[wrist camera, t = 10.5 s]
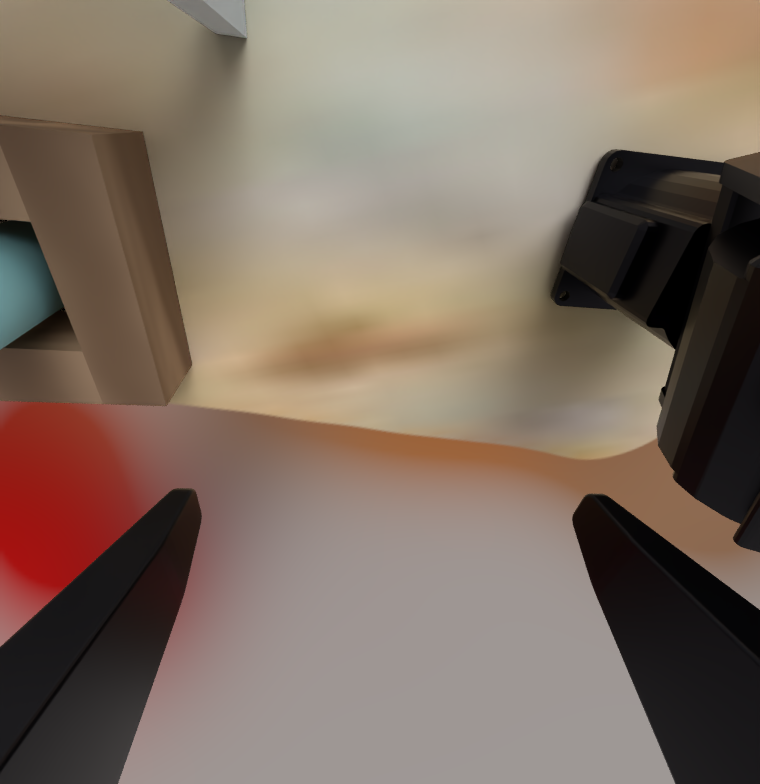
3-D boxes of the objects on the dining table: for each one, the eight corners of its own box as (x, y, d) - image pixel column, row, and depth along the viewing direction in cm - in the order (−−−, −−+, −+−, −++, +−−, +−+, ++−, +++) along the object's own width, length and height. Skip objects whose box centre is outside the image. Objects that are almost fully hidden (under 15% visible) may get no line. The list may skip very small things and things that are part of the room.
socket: (142, 131, 14) (91, 134, 11) (192, 364, 20) (166, 406, 17) (-177, 95, 13) (-327, 88, 10) (-25, 355, 18) (-92, 397, 16)
